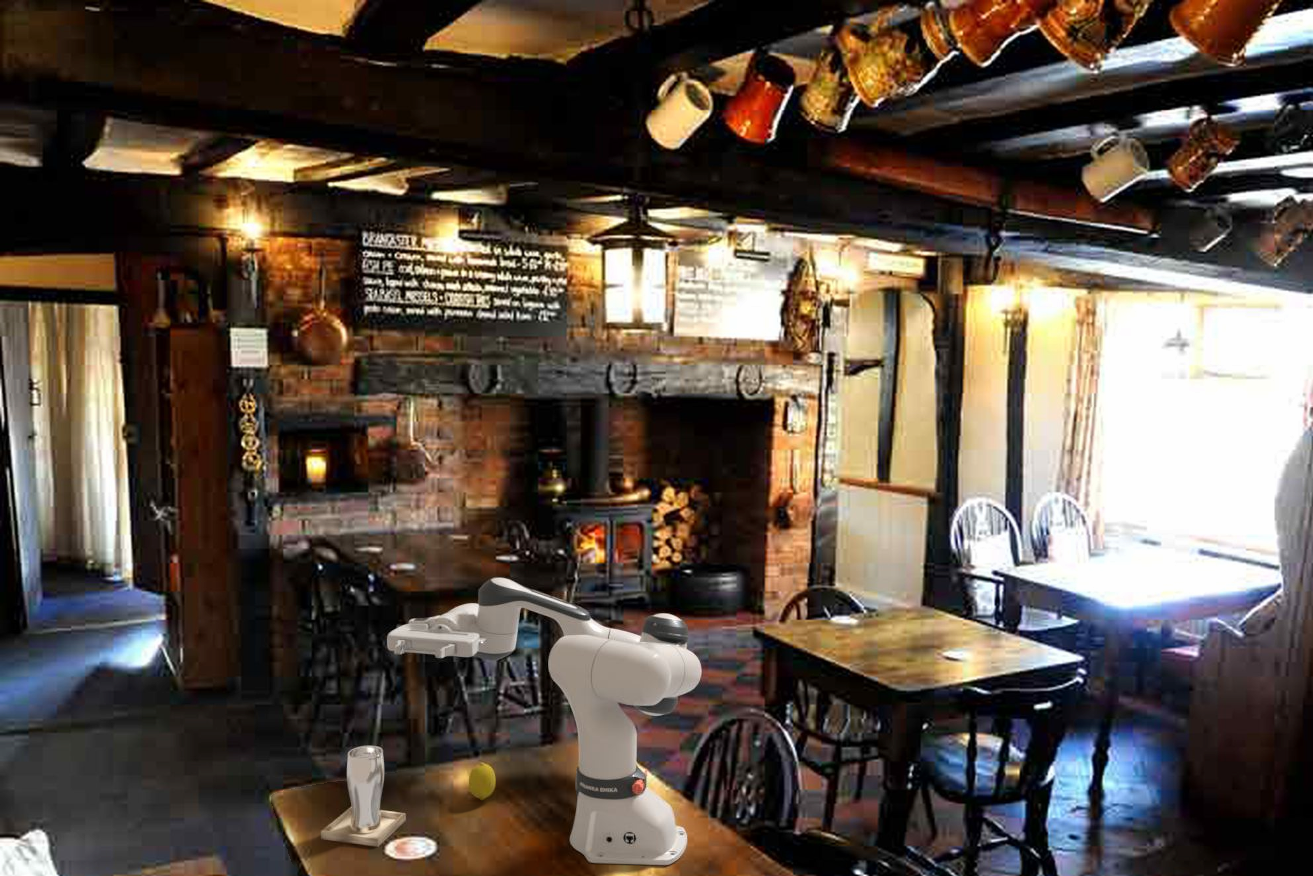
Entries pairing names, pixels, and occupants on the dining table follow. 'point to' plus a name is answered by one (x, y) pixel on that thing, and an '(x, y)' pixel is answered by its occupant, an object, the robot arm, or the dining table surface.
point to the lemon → (482, 781)
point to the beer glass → (365, 788)
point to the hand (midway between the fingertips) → (417, 652)
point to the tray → (342, 833)
